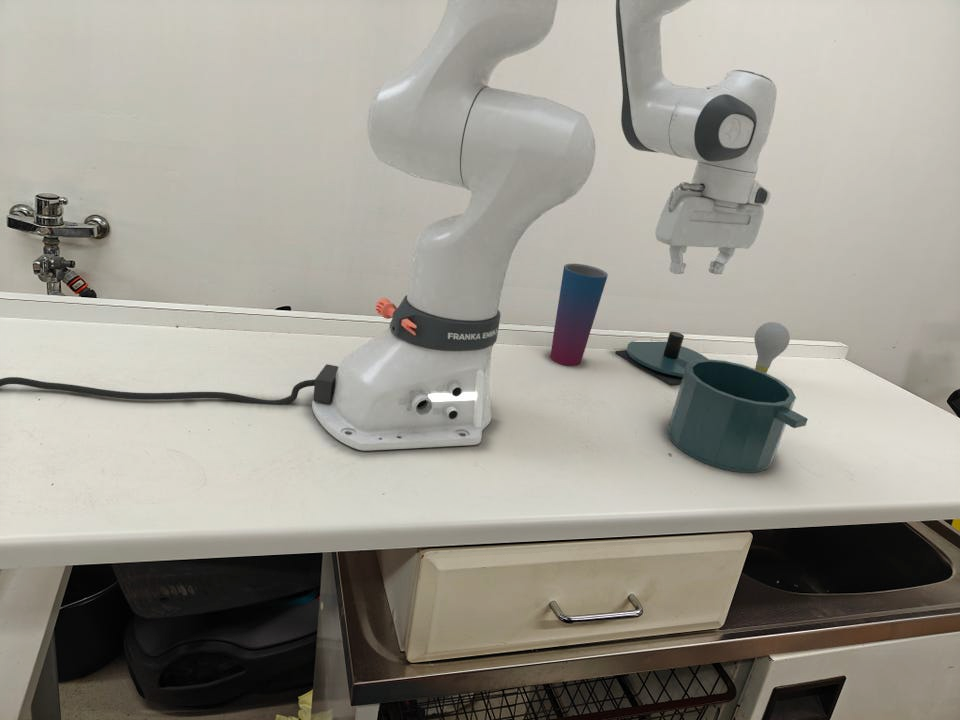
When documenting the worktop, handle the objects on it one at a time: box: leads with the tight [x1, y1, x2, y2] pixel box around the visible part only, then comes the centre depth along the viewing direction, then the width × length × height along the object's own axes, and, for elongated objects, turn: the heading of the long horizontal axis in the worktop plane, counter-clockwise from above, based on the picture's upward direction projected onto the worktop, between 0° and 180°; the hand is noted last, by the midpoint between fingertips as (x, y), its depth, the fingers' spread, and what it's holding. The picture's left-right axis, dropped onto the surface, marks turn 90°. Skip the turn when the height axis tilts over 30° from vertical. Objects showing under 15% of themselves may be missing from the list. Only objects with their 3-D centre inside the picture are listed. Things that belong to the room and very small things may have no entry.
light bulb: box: [753, 321, 791, 374], centre depth 121 cm, size 6×6×10 cm
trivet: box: [614, 349, 683, 387], centre depth 121 cm, size 13×13×1 cm
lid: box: [626, 331, 709, 377], centre depth 121 cm, size 15×15×5 cm
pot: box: [667, 356, 809, 474], centre depth 94 cm, size 14×19×10 cm
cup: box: [549, 263, 609, 367], centre depth 113 cm, size 7×7×15 cm
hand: (695, 273), depth 115 cm, fingers open, 8 cm apart
